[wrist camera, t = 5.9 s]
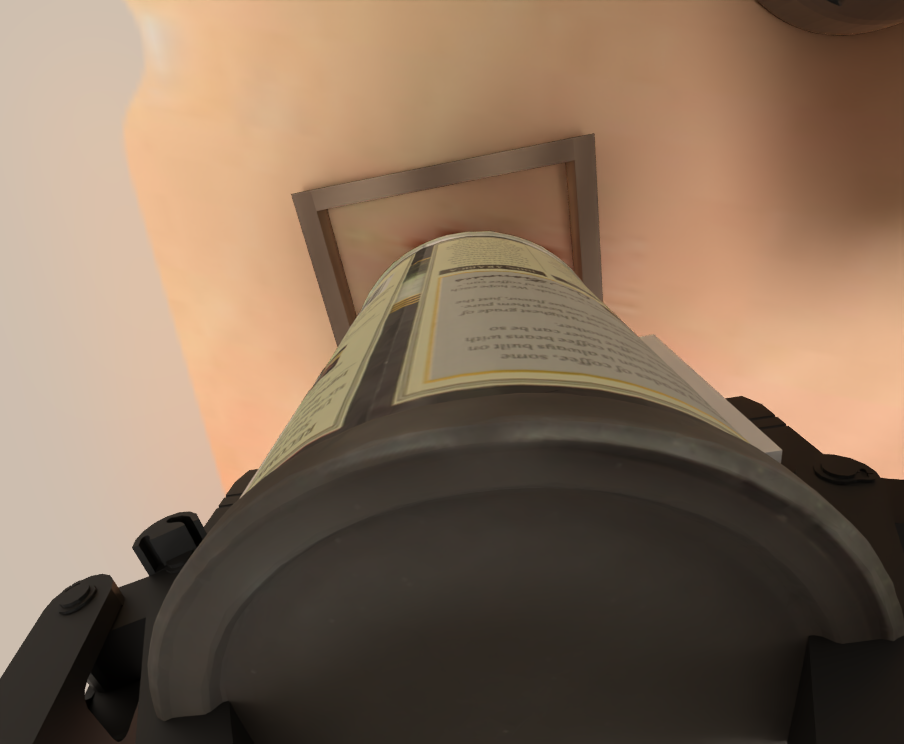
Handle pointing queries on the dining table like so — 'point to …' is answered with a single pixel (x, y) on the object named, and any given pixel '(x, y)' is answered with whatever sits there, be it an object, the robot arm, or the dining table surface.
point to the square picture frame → (570, 150)
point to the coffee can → (510, 538)
